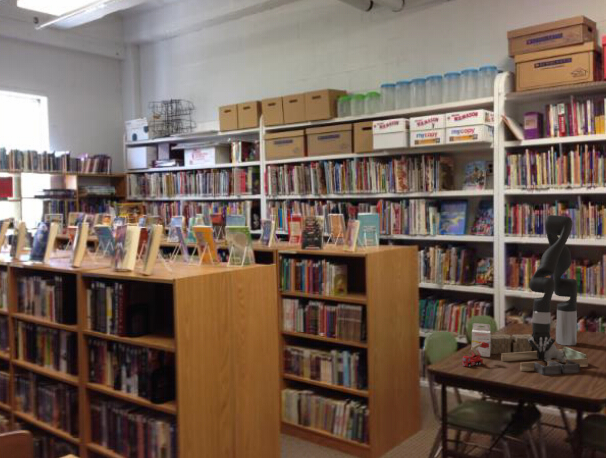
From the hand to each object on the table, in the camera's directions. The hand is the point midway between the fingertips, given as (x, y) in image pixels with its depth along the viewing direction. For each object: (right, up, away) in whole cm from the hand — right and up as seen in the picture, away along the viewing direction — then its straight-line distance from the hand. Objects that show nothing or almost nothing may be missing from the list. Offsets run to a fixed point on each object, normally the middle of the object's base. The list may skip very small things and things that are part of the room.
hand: (540, 359), depth 265 cm
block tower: (-5, -1, +23) cm, 23 cm away
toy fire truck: (-29, -3, +1) cm, 29 cm away
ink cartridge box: (-22, -2, +17) cm, 27 cm away
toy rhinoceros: (+6, -2, +3) cm, 7 cm away
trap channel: (+2, -2, -3) cm, 4 cm away
